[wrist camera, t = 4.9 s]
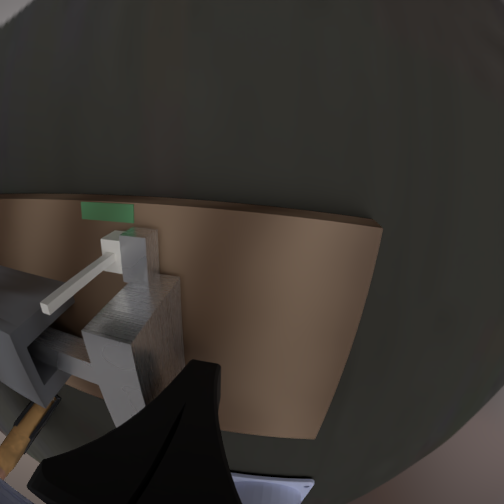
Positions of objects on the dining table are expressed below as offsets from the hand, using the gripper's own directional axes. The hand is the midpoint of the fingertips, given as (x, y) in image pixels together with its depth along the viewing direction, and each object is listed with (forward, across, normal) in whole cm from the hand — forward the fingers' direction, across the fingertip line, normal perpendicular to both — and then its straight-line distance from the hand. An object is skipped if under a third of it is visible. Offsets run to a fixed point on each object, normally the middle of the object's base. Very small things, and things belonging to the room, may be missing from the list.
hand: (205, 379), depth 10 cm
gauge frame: (+3, +7, 0) cm, 7 cm away
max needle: (+1, +4, -4) cm, 6 cm away
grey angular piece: (+1, +6, -1) cm, 6 cm away
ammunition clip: (+3, +17, +14) cm, 23 cm away
